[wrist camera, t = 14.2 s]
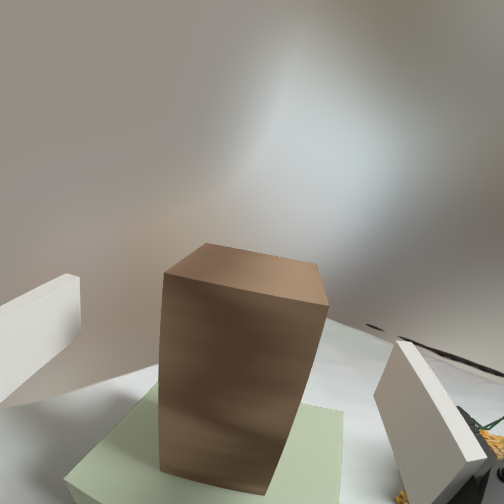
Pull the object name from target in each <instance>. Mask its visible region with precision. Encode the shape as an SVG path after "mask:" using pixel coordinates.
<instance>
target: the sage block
mask: <svg viewBox="0 0 504 504" xmlns="http://www.w3.org/2000/svg"><path fill="white" fill-rule="evenodd" d="M342 443H343V412H342V411H337V410H332V409H327V408H322V407H317V406H312V405H307V404H303V403H300V405H299V408H298V411H297V414H296V417H295V419H294V422H293V425H292V428H291V431H290V433H289V436H288V439H287V442H286V444H285V447H284V450H283V452H282V455H281V457H280V460H279V463H278V465H277V468H276V470H275V473H274V475H273V478H272V480H271V482H270V485H269V487H268V490H267V492H266V494H265V496H264V495H257V494H251V493H245V492H240V491H234V490H229V489H225V488H220V487H216V486H211V485H207V484H203V483H199V482H195V481H191V480H188V479H184V478H181V477H177V476H174V475H171V474H167V473H164V472H161V471H160V464H159V434H158V382H157V383H156V384H155V385H154V386H153V387H152V388H151V389H150V390H149V391H148V392H147V393H146V395H145V396H144V397H143V398H142V399H141V400H140V401H139V402H138V403H137V404H136V405H135V406H134V407H133V408H132V409H131V410H130V411H129V412H128V413H127V414H126V415H125V416H124V417H123V418H122V419H121V421H120V422H119V423H118V424H117V425H116V426H115V427H114V428H113V429H112V430H111V431H110V432H109V433H108V434H107V435H106V436H105V437H104V438H103V439H102V440H101V441H100V442H99V443H98V444H97V445H96V446H95V447H94V448H93V449H92V450H91V451H90V452H89V453H88V454H87V455H86V456H85V457H84V458H83V459H82V460H81V461H80V462H79V463H78V464H77V465H76V466H75V467H74V468H73V469H72V470H71V471H70V472H69V473H68V474H67V475H66V476H65V477H64V478H63V479H64V481H65V483H66V485H67V487H68V489H69V491H70V493H71V495H72V497H73V499H74V501H75V503H76V504H339V493H340V479H341V464H342Z"/></svg>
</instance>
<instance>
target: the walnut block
mask: <svg viewBox="0 0 504 504" xmlns="http://www.w3.org/2000/svg"><path fill="white" fill-rule="evenodd" d="M328 308H329V303H328V300H327V297H326V293H325V290H324V286H323V283H322V280H321V277H320V273H319V270H318V267H317V264H314V263H308V262H303V261H298V260H293V259H288V258H282V257H277V256H272V255H267V254H261V253H256V252H251V251H246V250H241V249H235V248H230V247H224V246H220V245H214V244H209V243H205V244H204V245H203V246H201V247H200V248H198V249H197V250H195V251H194V252H193V253H191V254H190V255H188V256H187V257H185V258H184V259H183V260H181V261H180V262H178V263H177V264H176V265H174V266H173V267H172V268H170V269H169V270H167V271H166V272H165V273H164V280H163V292H162V307H161V323H160V343H159V375H158V434H159V464H160V471H161V472H164V473H167V474H171V475H174V476H177V477H181V478H184V479H188V480H191V481H195V482H199V483H203V484H207V485H211V486H216V487H220V488H225V489H229V490H234V491H240V492H245V493H251V494H257V495H264V496H265V494H266V492H267V490H268V487H269V485H270V482H271V480H272V478H273V475H274V473H275V470H276V468H277V465H278V463H279V460H280V457H281V455H282V452H283V450H284V447H285V444H286V442H287V439H288V436H289V433H290V431H291V428H292V425H293V422H294V419H295V417H296V414H297V411H298V408H299V405H300V402H301V399H302V396H303V393H304V390H305V387H306V384H307V381H308V378H309V374H310V371H311V368H312V365H313V361H314V358H315V355H316V351H317V348H318V345H319V341H320V338H321V334H322V331H323V327H324V323H325V320H326V316H327V312H328Z"/></svg>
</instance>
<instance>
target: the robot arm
mask: <svg viewBox="0 0 504 504" xmlns="http://www.w3.org/2000/svg"><path fill="white" fill-rule="evenodd" d="M81 334H82V329H81V311H80V277H77V276H74V275H70V274H64V275H62V276H60V277H58V278H56V279H54V280H51V281H49V282H47V283H45V284H43V285H42V286H39V287H37V288H35V289H33V290H31V291H29V292H27V293H25V294H23V295H22V296H20V297H17V298H15V299H14V300H12V301H10V302H8V303H6V304H4V305H2V306H0V403H1V402H2V401H3V400H4V399H5V398H7V397H8V396H9V395H10V394H11V393H12V392H13V391H15V390H16V389H17V388H18V387H19V386H20V385H21V384H23V383H24V382H25V381H26V380H27V379H28V378H30V377H31V376H32V375H33V374H34V373H35V372H37V371H38V370H39V369H40V368H41V367H42V366H44V365H45V364H46V363H47V362H48V361H50V360H51V359H52V358H53V357H54V356H55V355H57V354H58V353H59V352H60V351H61V350H63V349H64V348H65V347H66V346H67V345H69V344H70V343H71V342H72V341H73V340H75V339H76V338H77V337H78V336H80V335H81ZM373 396H374V399H375V401H376V404H377V407H378V410H379V412H380V415H381V418H382V421H383V424H384V427H385V430H386V432H387V435H388V438H389V441H390V444H391V447H392V450H393V453H394V456H395V459H396V462H397V465H398V468H399V472H400V475H401V478H402V481H403V484H404V488H405V491H406V494H407V498H408V501H409V504H504V460H497V458H496V456H495V455H494V453H493V451H492V450H491V448H490V447H489V445H488V443H487V442H486V440H485V439H484V437H483V435H482V434H480V431H479V429H478V428H477V426H475V423H474V421H473V420H472V418H471V417H470V415H469V414H468V413H467V412H465V411H464V410H463V409H462V408H461V407H459V406H455V404H454V403H453V401H452V400H451V398H450V397H449V395H448V394H447V392H446V391H445V389H444V388H443V386H442V385H441V383H440V382H439V380H438V379H437V377H436V376H435V374H434V373H433V372H432V370H431V369H430V367H429V366H428V364H427V363H426V362H425V360H424V359H423V357H422V356H421V354H420V353H419V352H418V350H417V349H416V347H415V346H414V345H413V343H412V342H403V341H396V342H395V344H394V347H393V349H392V352H391V355H390V357H389V360H388V362H387V365H386V367H385V369H384V372H383V374H382V377H381V379H380V381H379V384H378V386H377V388H376V390H375V393H374V395H373Z"/></svg>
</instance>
